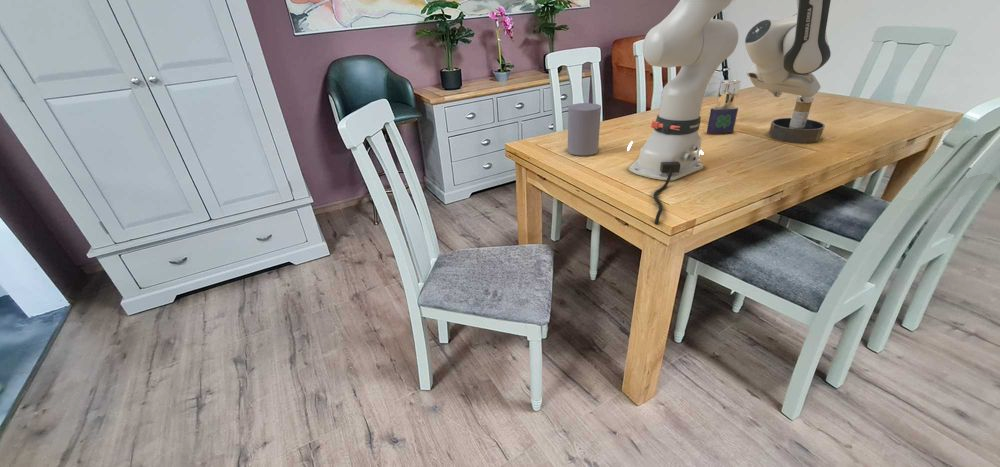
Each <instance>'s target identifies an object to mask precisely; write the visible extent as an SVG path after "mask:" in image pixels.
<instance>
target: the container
mask: <svg viewBox="0 0 1000 467" xmlns="http://www.w3.org/2000/svg"><path fill="white" fill-rule="evenodd" d="M601 112H602V106H601V105H600V104H598V103H593V102H580V103H574V104H570V105H569V106H568V112H567V114H568V116H567V150H566V151H567V153H568V154H570V155H573V156H575V157H589V156H594V155H596V154H597V153H599V145H600V144H599V143H600V142H599V141H600V130H601V129H600V127H601Z"/></svg>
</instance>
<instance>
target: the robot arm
mask: <svg viewBox="0 0 1000 467" xmlns="http://www.w3.org/2000/svg"><path fill="white" fill-rule="evenodd" d="M733 1H734V0H679V1H678V2H677V4H676V5H675V7H674V8H673V9H672V10H671V12H670V13H669V14H668V15H667V16H665V18H664V19H662V20H661V21H660V22H659V23H657V24H656V25H655V26H653V27H651V29H650V30H649V31H648V32H647V33H646V35H645V37H644V39H643V42H642V55H643V57H644V60H645V62H646V63H647V64H648V65H649V66H651V67H658V68H678V67H680V70H679V72H678V73H677V74H676V76H674V78H672V79H671V80H670V81H669V82H666V84H665V85H664V86H663V87H662V90H661V94H660V101H659V102H660V103H659V109H658V114H657V116H656V119H655V120H652V121H651V123H650V128H651V129H653V130H652V132H651V134H650V135H649V137H648V138H647V140H646V141H645V142H644V144H643V145H642V147H641V149H640V150H639V155H638V158H637V159H636V160H635V161H634V162H633V163H632V164H631V165H630V166H629V168H628V171H629V172H631V173H633V174H636V175H638V176H641V177H644V178H650V179H653V180H660V181H665V183H664V184H663V185H662V186H661V187H660V188H658V189H657V190H655V191H654V193H653V199H654V201H655V202H656V204H657V205H658V211H657V213H656V216H655V219H654V225H655V226H658V225H659V223H660V222H659V221H660V218H661V215H662V212H663V209H664V208H663V204H662V202H661V201H660V199H659V198H658V194H660V193H661V192H662V191H664V190H665V189H666V188H667V186H668V185H669V183H670V181H672V182H673V181H677V180H678V179H681V178H683V177H685V176H688V175H691V174H694V173H695V172H698V171H701V170H703V169H704V164H703V163H702V162H700V158H701V155H702V156H703V155H704V152H703V151H702V142H703V141H702V137H700V134H699V130H700V126H701V121H702V120H701V118H702V117H701V116H700V115H701V110H702V105H703V100H704V97H705V94H706V93H705V92H706V89H707V87H708V84H709V82H710V80H711V78H712V77H713V76H714V73H716V71H717V69H718V68H719V67H720V66H721V64H722V63H723V62H724V61H726V60H727V59H728V58H729V57H730V56H732V54H733V53H734V52H735V50H736V49H737V46H738V43H739V30H738V28H737V26H736V24H735V23H734V22H732V21H729V20H724V19H718V18H714V17H715V16H717V15H718V14H720V12H722V11H724V10H725V9H727V8H728V7H729V6H730V5H731V3H732V2H733ZM831 1H832V0H796V8H797V13H795V14H794V15H792V16H789V17H785V18H781V19H769V18H768V19H767V18H766V19H764V20H761V21H759V22H757V23H756V24H755V25H753V26H752V27H751V28H750V29H749V30H748V32H747V34H746V36H745V40H744V45H745V46H744V47H745V49H746V52H747V54H748V56H749V58H750V60H751V62H752V63H753V64H752V65H751V66H750V68H749V69H748V70H747V72H746V75H747V77H748V78H749V79H750V81H751V83H752V85H753V86H754V87H756V88H757V89H761V90H767V91H768V92H769V93H771V94H772V95H773V97H775V98H780V97H781V96H782V95H783V93H785V94H788V95H789V94H790V95H795V96H798V95H801V96H802V97H801V98H800V100H801V102H807V101H808V100H809V97H812V96H814V97H815V95H816V94H817V93H818V92H819V91H820V90H821V87H822V86H821V83H820V82H819V80H818V79H817V78H816V76H815V75H814V74H813V73H814V72H817V71H818V70H819V69H820V68H822V67H823V66H825V65H826V64H827V63H828V61H829V60H830V58H831V56H832V55H831V54H832V52H831V48H830V45H829V41H828V35H827V26H828V20H829V14H830V6H831ZM632 145H633V141H632V140H631V141H630V143H629V144H628V146H627V150H626V151H627V152H629V151H630V149H631V147H632Z"/></svg>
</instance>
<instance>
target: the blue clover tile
mask: <svg viewBox="0 0 1000 467" xmlns="http://www.w3.org/2000/svg"><path fill="white" fill-rule="evenodd" d="M728 105H729V104H728V103H725V105H724V106H722V107H721V108H719V107H717V106H715V107H712V108H711V109H710V112H709V118H708V123H707V128H706V134H707V135H728V134H733V133H734V130H735V125H736V121H737V116H738V111H739V107H737V106H734V107H729V106H728Z"/></svg>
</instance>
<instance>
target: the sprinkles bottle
mask: <svg viewBox="0 0 1000 467" xmlns="http://www.w3.org/2000/svg"><path fill="white" fill-rule="evenodd" d="M801 97H802V96H801V95H796V100H795V106H794V109H793V112H792V116H791V117H790V118H791V121H790V126H789V128H792V129H804V127H805V124H806V121H807V119H808V118H809V115H810V110H811V106H812V104H813V102H814V99H815V95H814V96H812V97H809V100H808V101H807V102H801V100H800V98H801Z"/></svg>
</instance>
